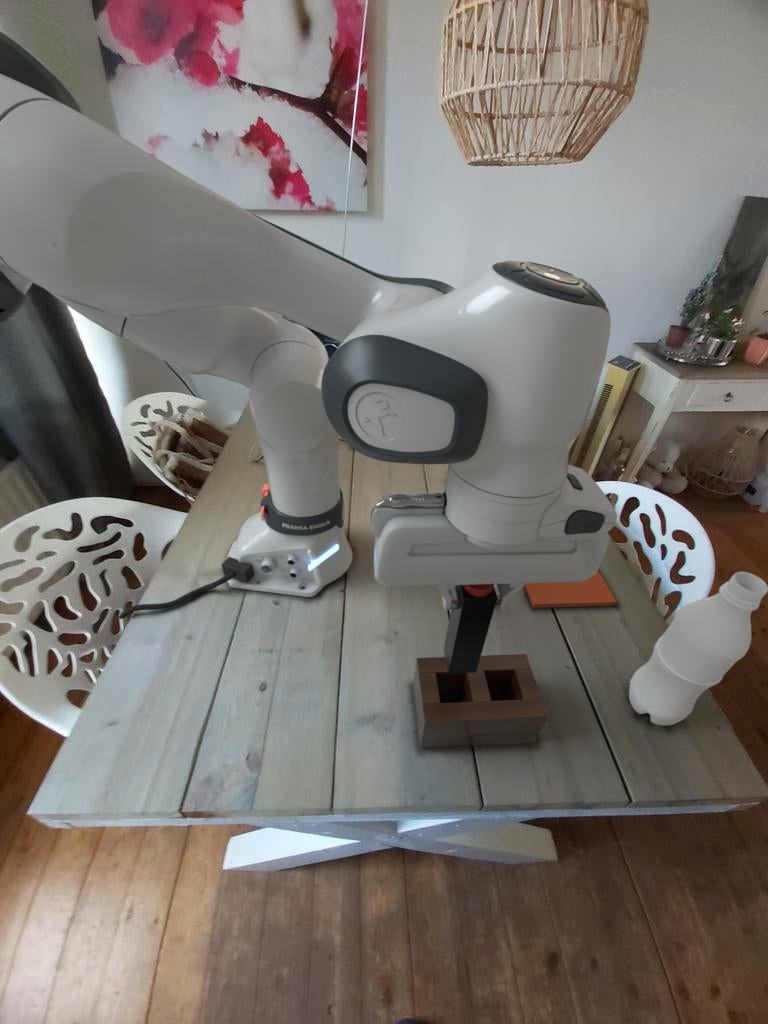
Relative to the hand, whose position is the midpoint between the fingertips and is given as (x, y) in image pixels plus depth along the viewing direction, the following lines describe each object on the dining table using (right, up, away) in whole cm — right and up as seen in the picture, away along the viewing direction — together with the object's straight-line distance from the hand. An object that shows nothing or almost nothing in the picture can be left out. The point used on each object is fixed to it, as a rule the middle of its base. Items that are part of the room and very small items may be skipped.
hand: (472, 603), depth 44 cm
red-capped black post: (0, -8, +6) cm, 10 cm away
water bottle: (+28, -17, +16) cm, 36 cm away
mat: (+22, -2, +34) cm, 41 cm away
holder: (+3, -18, +15) cm, 23 cm away
